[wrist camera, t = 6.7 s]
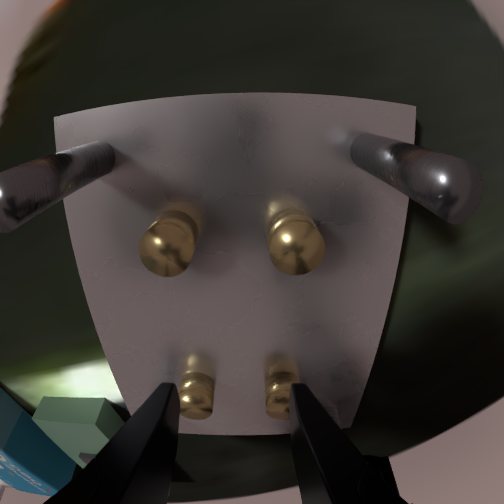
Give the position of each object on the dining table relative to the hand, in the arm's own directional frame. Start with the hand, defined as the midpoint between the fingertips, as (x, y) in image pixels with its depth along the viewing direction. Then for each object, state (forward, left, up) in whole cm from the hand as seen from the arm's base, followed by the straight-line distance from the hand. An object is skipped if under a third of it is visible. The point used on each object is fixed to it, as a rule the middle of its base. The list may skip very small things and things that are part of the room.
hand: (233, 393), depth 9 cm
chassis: (0, 0, -4) cm, 4 cm away
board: (+10, +12, -5) cm, 16 cm away
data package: (+27, +17, -2) cm, 32 cm away
